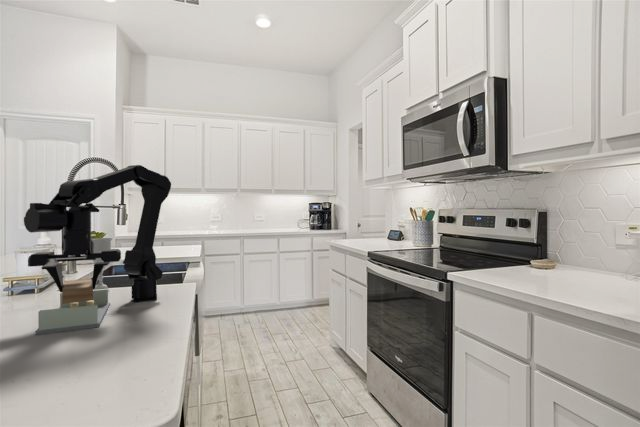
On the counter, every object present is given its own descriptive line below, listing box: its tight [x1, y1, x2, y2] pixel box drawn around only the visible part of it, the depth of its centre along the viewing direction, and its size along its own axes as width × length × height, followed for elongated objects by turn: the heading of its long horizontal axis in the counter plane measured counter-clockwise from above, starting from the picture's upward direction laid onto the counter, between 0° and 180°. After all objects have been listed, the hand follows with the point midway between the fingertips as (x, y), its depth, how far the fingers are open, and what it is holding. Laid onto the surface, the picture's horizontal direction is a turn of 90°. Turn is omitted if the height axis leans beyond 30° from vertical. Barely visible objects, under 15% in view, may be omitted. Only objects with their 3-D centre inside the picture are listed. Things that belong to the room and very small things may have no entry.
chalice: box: [91, 237, 113, 293], centre depth 114 cm, size 7×7×18 cm
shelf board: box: [61, 277, 93, 304], centre depth 86 cm, size 14×6×3 cm, turn 36°
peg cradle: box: [34, 288, 111, 336], centre depth 86 cm, size 12×20×5 cm, turn 26°
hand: (78, 290), depth 86 cm, fingers closed on shelf board, 6 cm apart
